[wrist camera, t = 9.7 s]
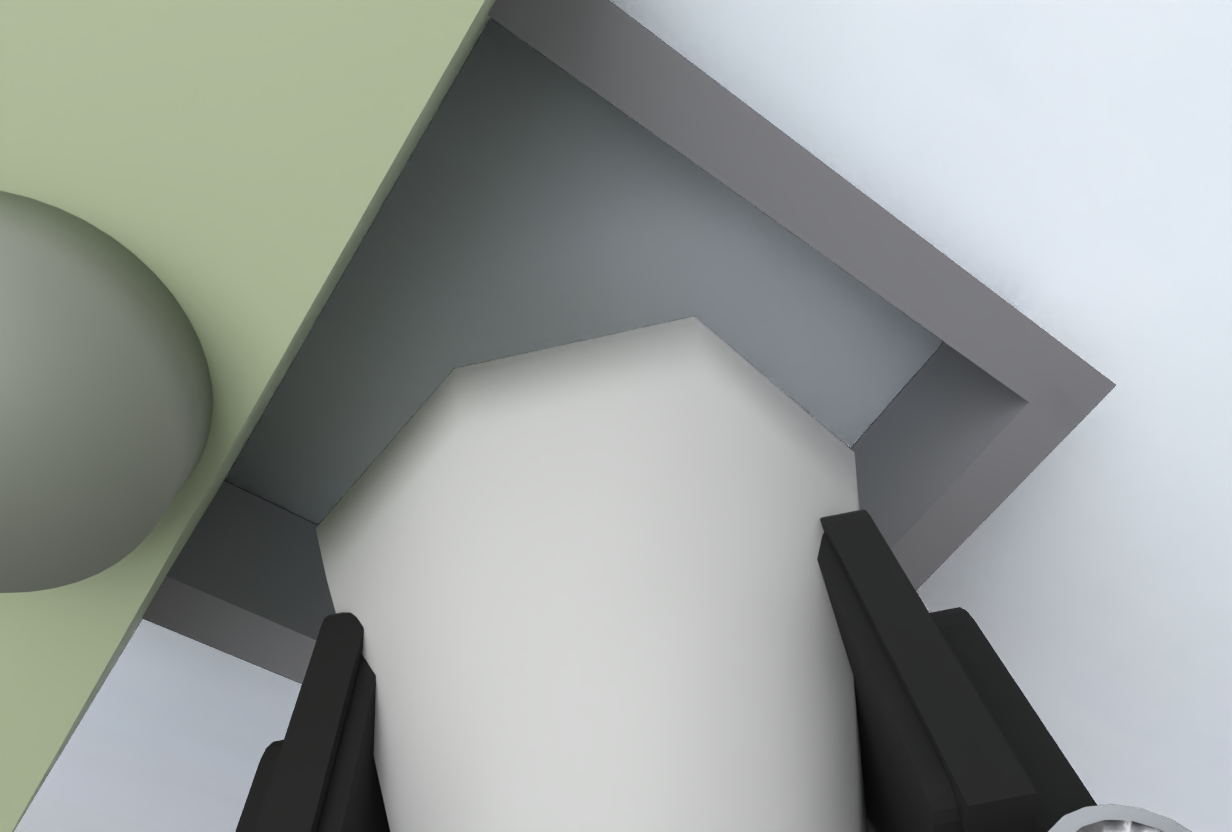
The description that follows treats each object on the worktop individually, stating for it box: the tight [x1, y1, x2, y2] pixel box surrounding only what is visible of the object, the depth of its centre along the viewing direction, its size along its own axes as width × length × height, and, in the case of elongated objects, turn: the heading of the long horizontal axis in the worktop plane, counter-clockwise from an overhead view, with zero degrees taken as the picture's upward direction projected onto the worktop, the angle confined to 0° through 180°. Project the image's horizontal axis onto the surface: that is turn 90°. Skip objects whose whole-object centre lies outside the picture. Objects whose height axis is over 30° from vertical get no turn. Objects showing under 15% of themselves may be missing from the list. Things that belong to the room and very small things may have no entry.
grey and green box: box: [0, 0, 1116, 832], centre depth 13 cm, size 15×14×8 cm
